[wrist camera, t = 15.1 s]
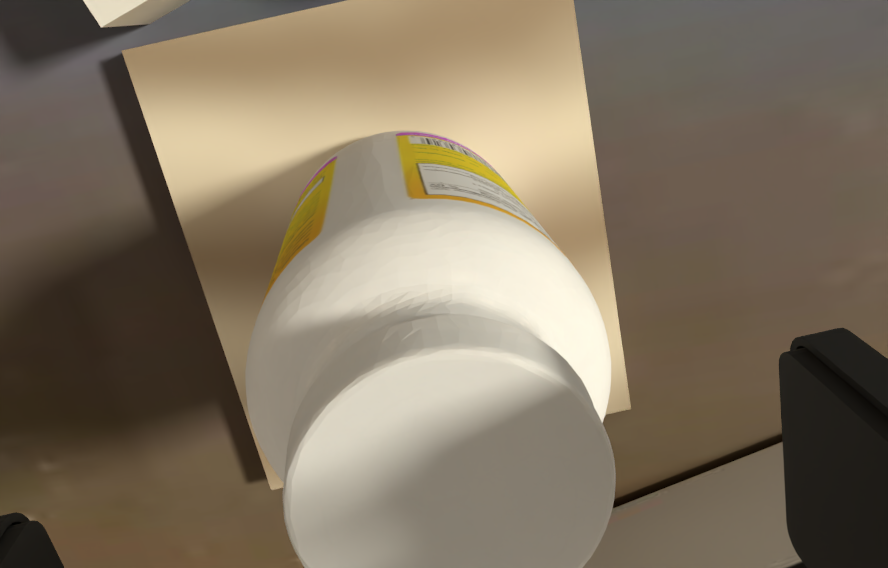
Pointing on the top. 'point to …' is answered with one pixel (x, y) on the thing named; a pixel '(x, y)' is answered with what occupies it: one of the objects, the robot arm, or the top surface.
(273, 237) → the ash board
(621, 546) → the stereo radio cassette player
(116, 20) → the off-white block
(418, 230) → the supplement bottle
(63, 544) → the top surface
